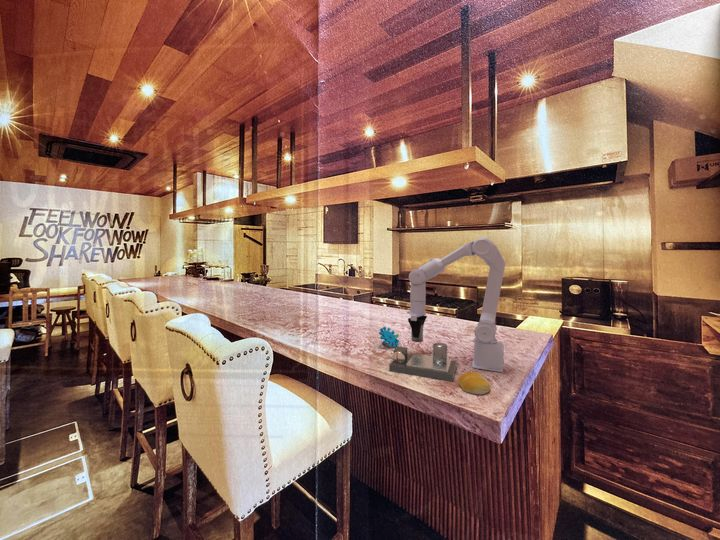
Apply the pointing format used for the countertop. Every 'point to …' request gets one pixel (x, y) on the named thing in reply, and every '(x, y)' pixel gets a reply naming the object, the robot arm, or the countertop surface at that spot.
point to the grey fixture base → (421, 365)
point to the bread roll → (474, 383)
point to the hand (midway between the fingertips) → (417, 335)
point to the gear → (389, 337)
